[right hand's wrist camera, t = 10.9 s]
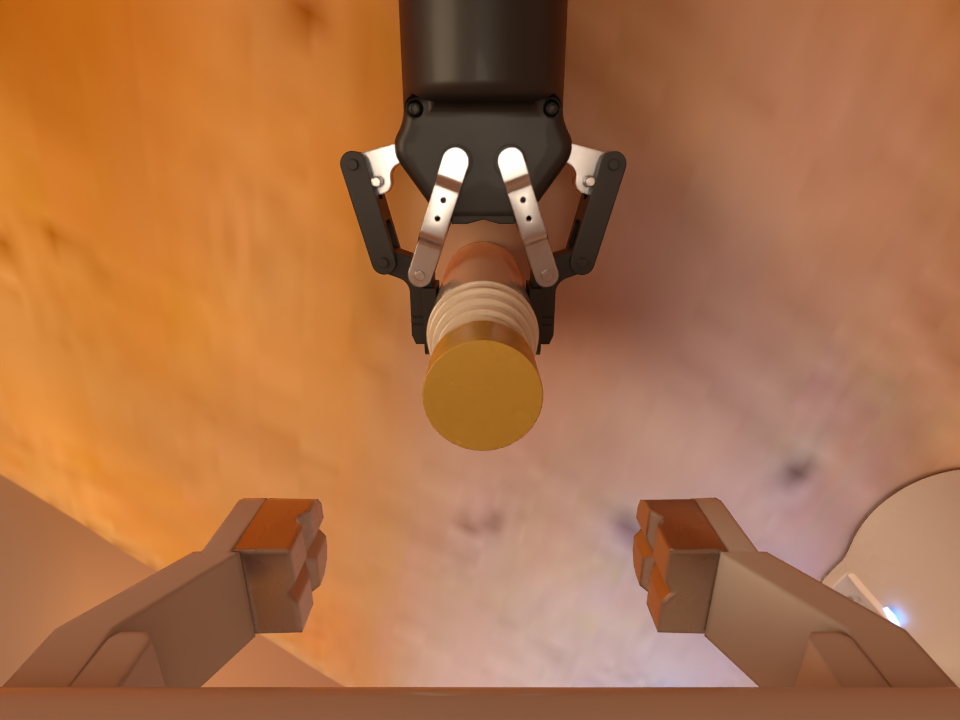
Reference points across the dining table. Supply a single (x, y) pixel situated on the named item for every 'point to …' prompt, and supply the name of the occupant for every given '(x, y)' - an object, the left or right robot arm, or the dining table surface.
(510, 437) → the cap
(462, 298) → the bottle
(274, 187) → the dining table surface
